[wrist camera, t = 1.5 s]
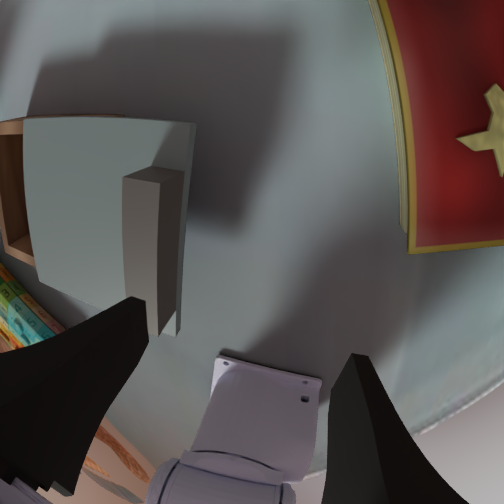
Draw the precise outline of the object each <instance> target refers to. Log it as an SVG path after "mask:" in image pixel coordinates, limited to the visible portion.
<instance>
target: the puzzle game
mask: <svg viewBox="0 0 504 504" xmlns="http://www.w3.org/2000/svg"><path fill="white" fill-rule="evenodd" d="M65 330H66V329H65V328H63V327H62V326H61V325H60V324H59V323H58V322H57V321H56V320H55V319H54V318H53V317H52V316H50V315H49V314H48V313H47V312H46V311H45V310H44V309H43V308H42V307H41V306H40V305H39V304H38V303H37V302H36V301H35V300H34V299H33V298H32V297H31V296H30V295H29V294H28V293H27V292H26V291H25V289H24V288H23V287H22V286H21V285H20V284H19V283H18V282H17V281H16V280H15V279H14V277H13V276H12V275H11V274H10V273H9V272H8V271H7V269H6V268H5V267H4V266H3V265H2V264H1V263H0V335H1V336H2V337H3V338H4V340H5V341H6V342H7V343H8V344H9V345H10V346H11V347H12V348H13V349H14V350H15V349H18V348H22V347H25V346H29V345H32V344H35V343H37V342H40V341H43V340H45V339H48V338H50V337H53V336H55V335H57V334H59V333H61V332H63V331H65Z"/></svg>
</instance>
